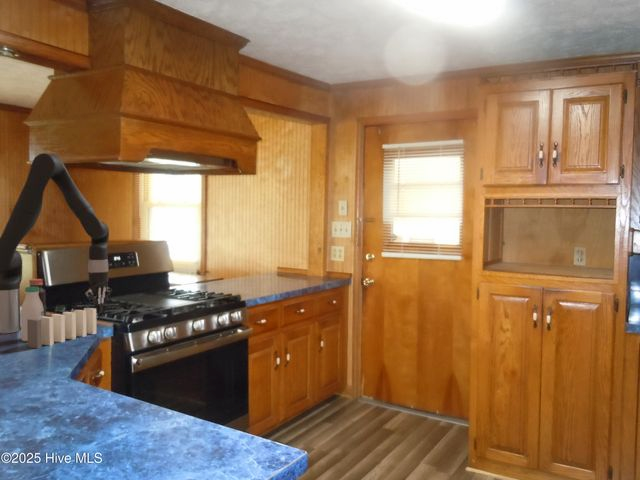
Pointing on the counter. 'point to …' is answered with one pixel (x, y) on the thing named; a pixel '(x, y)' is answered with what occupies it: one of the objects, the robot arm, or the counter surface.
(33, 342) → the domino
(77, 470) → the counter surface
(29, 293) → the milk bottle
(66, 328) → the domino
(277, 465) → the counter surface
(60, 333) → the domino
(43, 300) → the vinegar
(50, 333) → the domino
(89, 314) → the domino
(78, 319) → the domino
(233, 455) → the counter surface
